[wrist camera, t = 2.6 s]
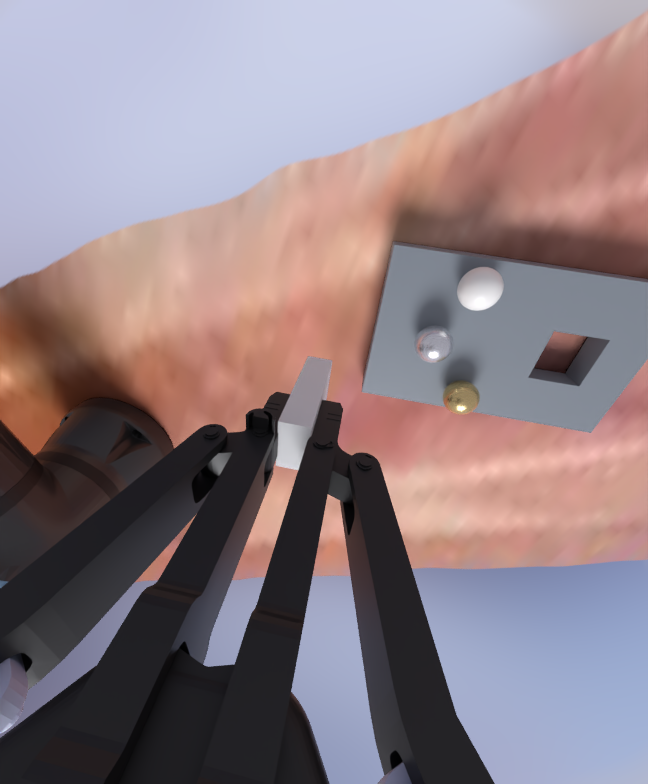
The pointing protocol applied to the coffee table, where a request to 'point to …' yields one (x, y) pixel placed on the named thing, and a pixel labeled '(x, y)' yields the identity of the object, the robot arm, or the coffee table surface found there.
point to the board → (509, 336)
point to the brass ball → (461, 397)
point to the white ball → (480, 288)
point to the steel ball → (433, 344)
